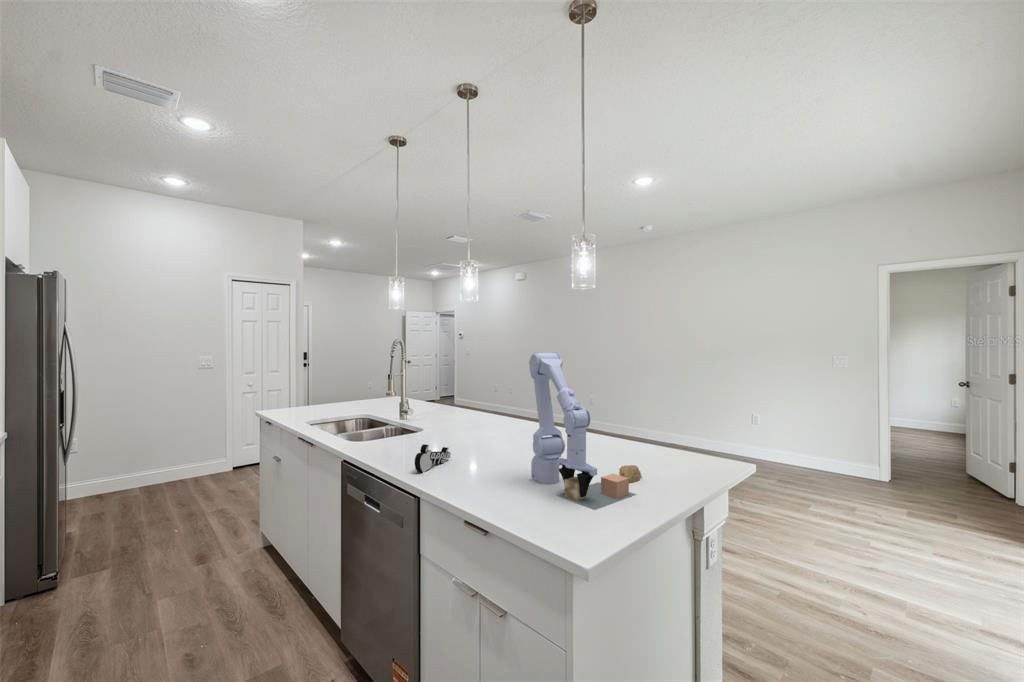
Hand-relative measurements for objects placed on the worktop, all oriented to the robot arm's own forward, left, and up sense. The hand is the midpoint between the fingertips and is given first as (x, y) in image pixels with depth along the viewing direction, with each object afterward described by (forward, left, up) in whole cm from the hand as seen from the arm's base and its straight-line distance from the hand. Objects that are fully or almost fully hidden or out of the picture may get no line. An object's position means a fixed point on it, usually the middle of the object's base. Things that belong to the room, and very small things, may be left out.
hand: (576, 493), depth 132 cm
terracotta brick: (+6, +11, -1) cm, 13 cm away
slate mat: (+3, +6, -2) cm, 7 cm away
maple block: (0, 0, -1) cm, 1 cm away
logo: (-57, -17, -2) cm, 60 cm away
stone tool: (0, +28, -2) cm, 28 cm away
